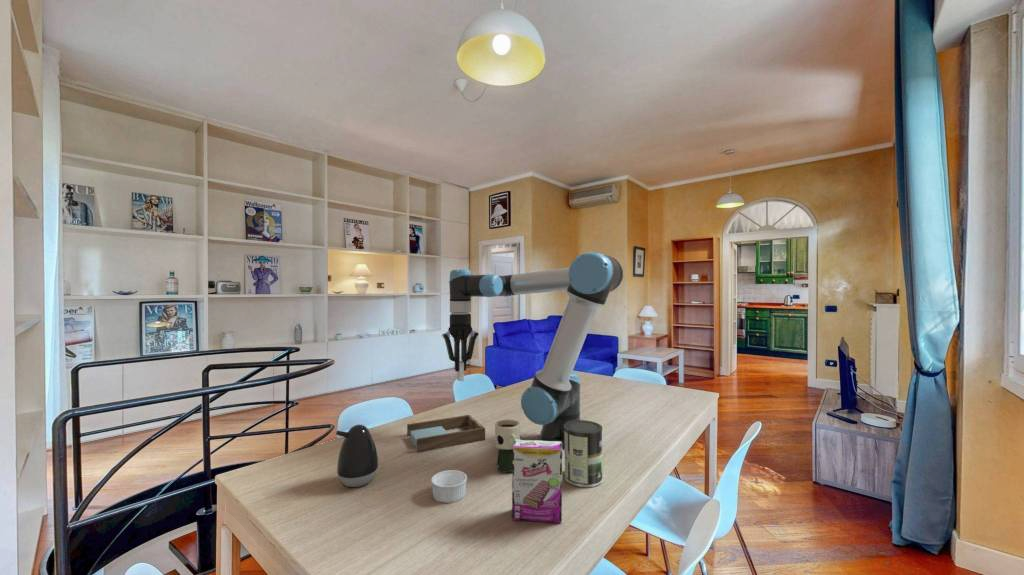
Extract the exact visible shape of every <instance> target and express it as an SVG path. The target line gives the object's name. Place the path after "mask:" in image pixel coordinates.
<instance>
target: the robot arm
mask: <svg viewBox="0 0 1024 575" xmlns="http://www.w3.org/2000/svg"><path fill="white" fill-rule="evenodd" d="M623 270H624V269H623V267H622V264H621V263H620V261H618V259H616V258H615V257H614V256H613V257H612V256H611V255H607V254H602V253H600V252H595V251H594V252H593V251H592V252H586V253H583V254H579V255H578V256H577V257H575V258H574V260H573V261H572V262H571V264H570V266H569V267H564V268H556V269H555V268H554V269H547V270H541V271H540V270H539V271H538V270H537V271H533V272H532V271H530V272H525V273H517V274H516V273H515V274H514V273H513V274H508V275H507V274H506V275H498V274H492V273H491V274H490V273H487V274H472V271H471V270H470V269H452V270H451V271H450V273H449V281H448V283H449V312H450V313H451V314H449V327H448V330H447V331H446V332H445V333H442V335H441V336H442V338H443V339H444V342H445V347H446V350H447V355H448V359H449V360H450V361H451V362H454V371H455V372H456V373H457V374H456V375H457V376H456V379H457V381H458V382H463V381H465V373H464V372H465V371H467V362H468V361H469V360H472V357H473V353H474V350H475V349H474V348H475V345H476V344H475V343H476V341H477V340H476V339H477V338H478V336H479V333H478V332H476V331H475V330H473V327H472V314H470V313H471V312H472V298H473V297H475V298H476V297H477V298H478V297H479V298H483V297H484V298H485V297H486V298H494V297H511V296H517V295H518V296H519V295H529V294H540V293H541V294H542V293H552V292H562V291H566V293H567V294H568V296H569V298H568V301H567V304H566V307H565V309H564V312H563V313H562V314H563V315H562V317H561V320H560V322H559V325H558V328H557V329H556V333H555V336H554V338H553V341H552V343H551V346H550V349H549V352H548V354H547V356H546V358H545V362H544V364H543V367H542V368H541V369H540V370H537V371H536V373H535V375H534V377H533V380H532V382H531V385H530V386H529V387H527V388H526V389H525V391H523V393H522V395H521V398H520V405H521V409H522V410H523V413H524V415H525V417H526V418H527V419H528V420H529V421H530V422H532V423H534V424H536V425H540V426H542V427H541V430H540V433H539V434H540V435H539V436H540V441H560V442H562V449H564V450H565V440H564V424H565V423H567V422H570V421H575V420H581V381H580V380H581V379H580V376H579V374H578V373H575V372H573V371H574V368H575V365H576V363H577V361H578V359H579V355H580V352H581V351H582V349H583V347H584V343H585V340H586V339H587V338H586V337H587V335H588V332H589V330H590V328H591V325H592V323H593V321H594V320H593V319H594V318H595V314H596V313H597V310H598V308H600V307H603V306H605V304H606V301H607V300H608V298H609V294H610V293H611V292H613V291H615V290H616V289H617V288H619V286H620V285H621V284H622V281H623V277H624V271H623ZM469 336H470V339H469V342H468V338H469ZM451 337H452V339H453V342H454V343H453V344H454V346H452V342H451ZM467 344H468V345H467ZM460 346H461V347H460ZM453 347H454V349H453ZM460 352H461V354H460ZM460 359H461V360H460Z"/></svg>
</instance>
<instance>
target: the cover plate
mask: <svg viewBox="0 0 1024 575" xmlns="http://www.w3.org/2000/svg"><path fill="white" fill-rule="evenodd" d="M448 433H449V432H448V431H447V430H445V429H444V428H443V427H442V426H439V427H432V428H426V429H420V430H414V431H410V436H409V437H410V438H411V439H410V438H409V439H410V440H411V441H413V442H412V443H413V445H414V446H415V448H416V449H417V439H418V438H424V437H430V436H436V435H442V434H448Z"/></svg>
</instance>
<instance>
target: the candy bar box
mask: <svg viewBox="0 0 1024 575" xmlns="http://www.w3.org/2000/svg"><path fill="white" fill-rule="evenodd" d="M512 469H513V470H512V471H511V472H512V478H511V480H512V481H511V485H512V486H511V488H512V489H511V491H512V492H511V495H512V496H511V501H512V502H511V506H512V507H511V520H513V521H526V522H538V521H541V522H542V523H543V522H544V523H554V522H558V523H557V524H559V523H560V522H561V523H563V522H562V517H563V514H562V513H563V448H562V442H560V441H541V440H538V439H537V440H536V439H534V440H533V439H520V440H519V439H515V441H514V445H513V466H512ZM561 523H560V524H561Z"/></svg>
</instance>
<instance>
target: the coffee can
mask: <svg viewBox="0 0 1024 575" xmlns="http://www.w3.org/2000/svg"><path fill="white" fill-rule="evenodd" d="M564 440H565V449H564V479H565V481H566V482H567V483H569V484H570V485H572V486H576V487H578V486H579V488H595V487H598V486H599V485H601V484H602V483H603V480H604V479H603V426H602V424H600V423H598V422H595V421H591V420H584V419H583V420H582V419H580V420H575V421H570V422H567V423H565V424H564Z"/></svg>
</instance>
